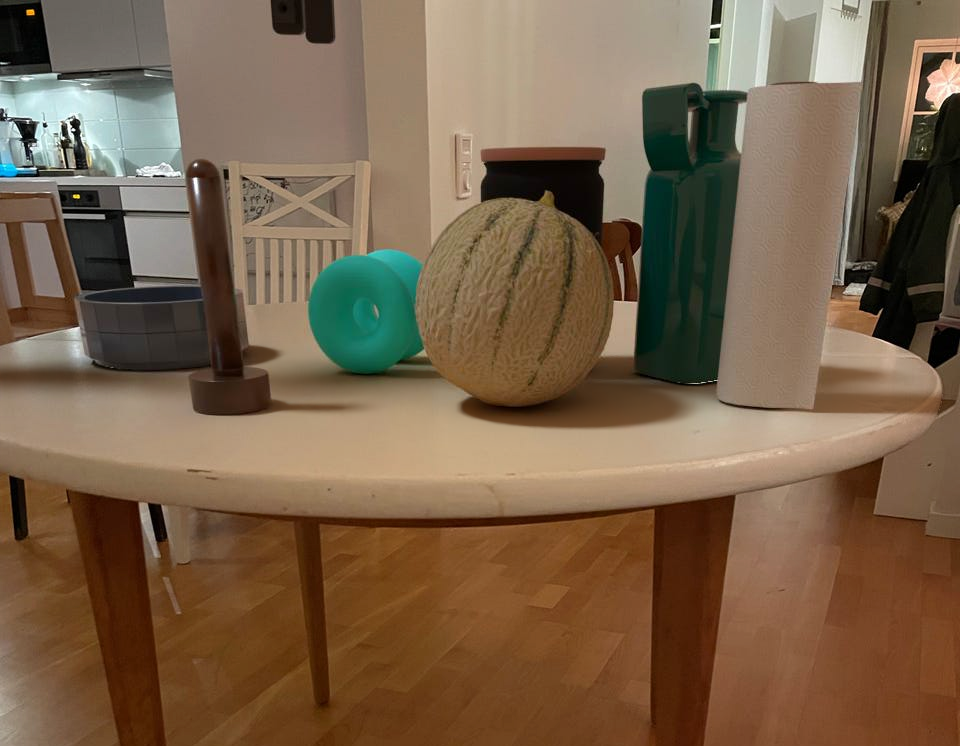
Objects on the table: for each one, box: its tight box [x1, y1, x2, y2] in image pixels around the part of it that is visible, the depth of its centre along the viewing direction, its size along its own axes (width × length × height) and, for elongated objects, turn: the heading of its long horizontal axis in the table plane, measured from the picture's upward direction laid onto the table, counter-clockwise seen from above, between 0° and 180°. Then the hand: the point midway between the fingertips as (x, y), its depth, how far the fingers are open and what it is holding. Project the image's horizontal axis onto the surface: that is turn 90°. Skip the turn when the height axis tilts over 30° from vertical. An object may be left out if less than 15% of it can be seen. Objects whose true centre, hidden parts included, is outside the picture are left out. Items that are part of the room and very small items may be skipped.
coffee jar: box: [480, 146, 607, 248], centre depth 82 cm, size 11×11×18 cm
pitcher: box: [632, 82, 748, 383], centre depth 77 cm, size 10×8×22 cm
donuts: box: [307, 249, 425, 375], centre depth 84 cm, size 10×10×10 cm
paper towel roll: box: [715, 81, 864, 410], centre depth 67 cm, size 7×6×21 cm
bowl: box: [73, 285, 250, 371], centre depth 91 cm, size 16×16×6 cm
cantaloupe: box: [415, 190, 615, 408], centre depth 68 cm, size 15×15×15 cm
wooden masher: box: [185, 158, 272, 416], centre depth 68 cm, size 6×6×17 cm
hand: (306, 39), depth 68 cm, fingers open, 8 cm apart
